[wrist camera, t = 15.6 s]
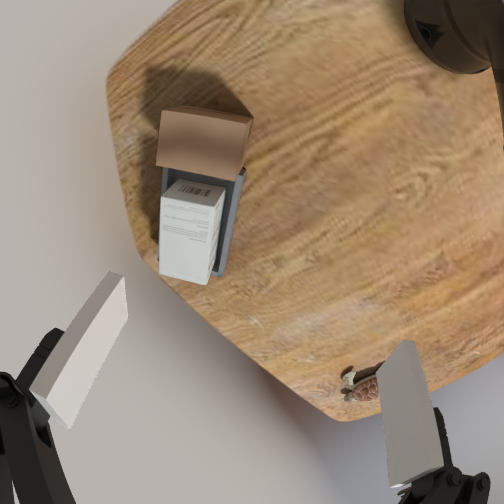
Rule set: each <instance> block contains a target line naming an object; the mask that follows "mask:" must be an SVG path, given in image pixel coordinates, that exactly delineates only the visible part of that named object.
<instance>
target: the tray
mask: <svg viewBox="0 0 504 504" xmlns="http://www.w3.org/2000/svg"><path fill="white" fill-rule="evenodd" d="M245 173H246V169H241V171H240V172H239V174H238V176H237V178H236V180H235V182H234V181H230V180H225V179H221V178H216V177H212V176H207V175H202V174H197V173H192V172H187V171H182V170H177V169H172V168H167V167H163V174H162V185H161V196H162V195H163V194H164V193H165V192H166V191H167V190H168V189H169V188H170V187H171V186H172V185H173V184H174V183H175V182H176V181H177V180H178V179H180V178H181V179H183V180H187V181H192V182H197V183H203V184H208V185H214V186H221V187H226V196H225V202H224V208H223V214H222V220H221V227H220V234H219V241H218V248H217V255H216V260H215V262H214V265H213V268H212V271H211V274H210V275H214V276H218V277H222V278H223V275H224V272H225V269H226V265H227V260H228V255H229V250H230V245H231V240H232V235H233V230H234V225H235V220H236V215H237V211H238V206H239V201H240V196H241V191H242V187H243V182H244V177H245ZM160 203H161V199H160ZM159 233H160V214H159ZM158 261H159V234H158Z"/></svg>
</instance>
